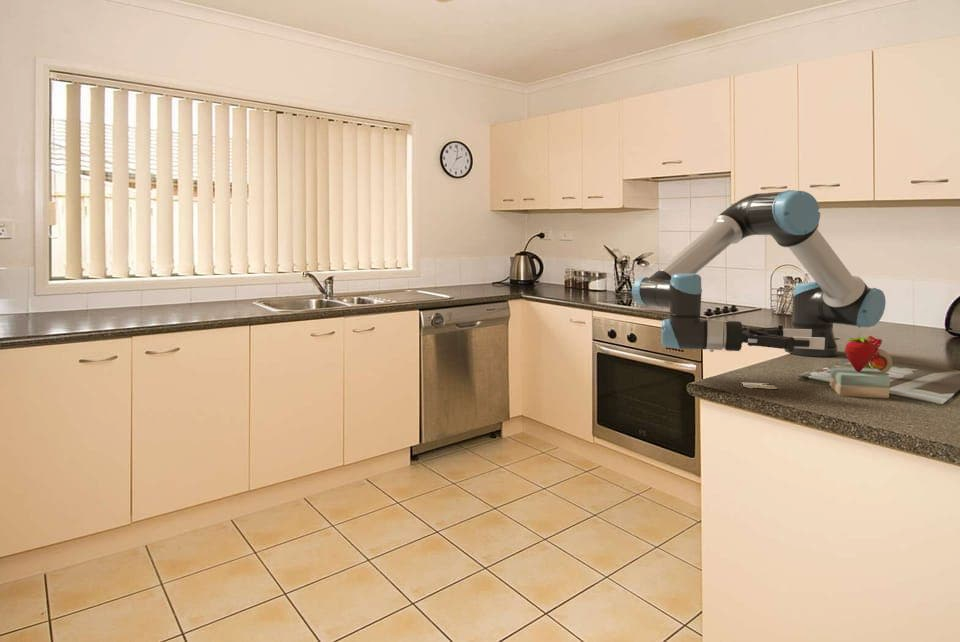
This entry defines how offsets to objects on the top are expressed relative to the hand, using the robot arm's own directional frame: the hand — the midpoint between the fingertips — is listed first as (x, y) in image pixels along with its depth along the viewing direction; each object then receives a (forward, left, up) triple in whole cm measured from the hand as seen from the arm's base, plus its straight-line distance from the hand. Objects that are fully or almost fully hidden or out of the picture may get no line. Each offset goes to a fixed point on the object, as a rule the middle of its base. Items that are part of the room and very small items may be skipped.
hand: (817, 339), depth 149 cm
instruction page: (0, -12, -13) cm, 18 cm away
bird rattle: (-20, +18, -13) cm, 30 cm away
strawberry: (0, +9, -8) cm, 12 cm away
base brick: (0, +10, -13) cm, 16 cm away
